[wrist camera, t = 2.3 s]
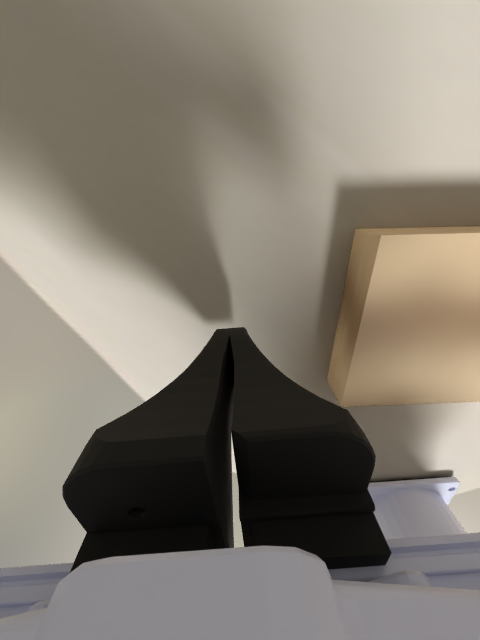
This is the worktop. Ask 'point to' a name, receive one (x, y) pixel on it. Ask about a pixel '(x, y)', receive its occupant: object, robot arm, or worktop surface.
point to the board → (409, 318)
